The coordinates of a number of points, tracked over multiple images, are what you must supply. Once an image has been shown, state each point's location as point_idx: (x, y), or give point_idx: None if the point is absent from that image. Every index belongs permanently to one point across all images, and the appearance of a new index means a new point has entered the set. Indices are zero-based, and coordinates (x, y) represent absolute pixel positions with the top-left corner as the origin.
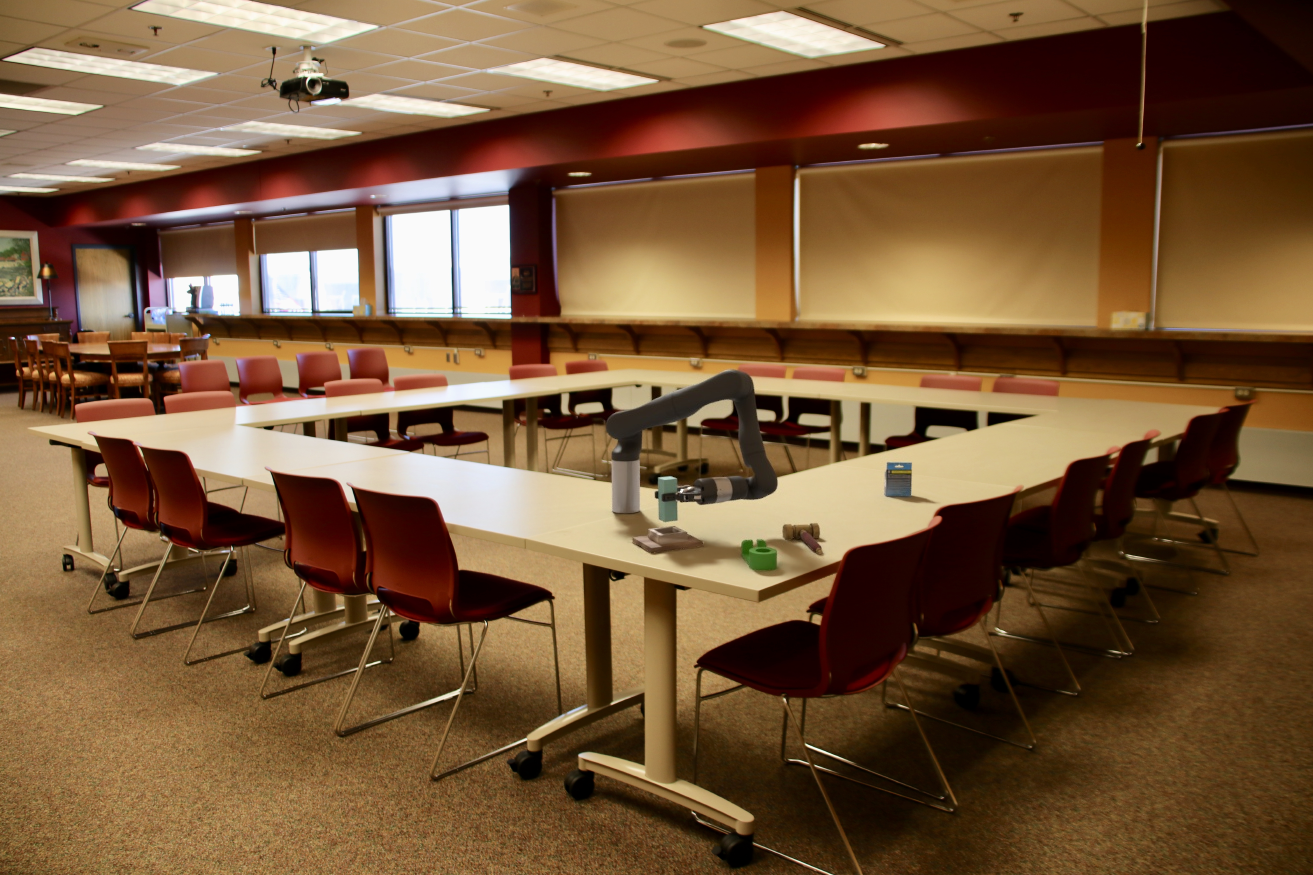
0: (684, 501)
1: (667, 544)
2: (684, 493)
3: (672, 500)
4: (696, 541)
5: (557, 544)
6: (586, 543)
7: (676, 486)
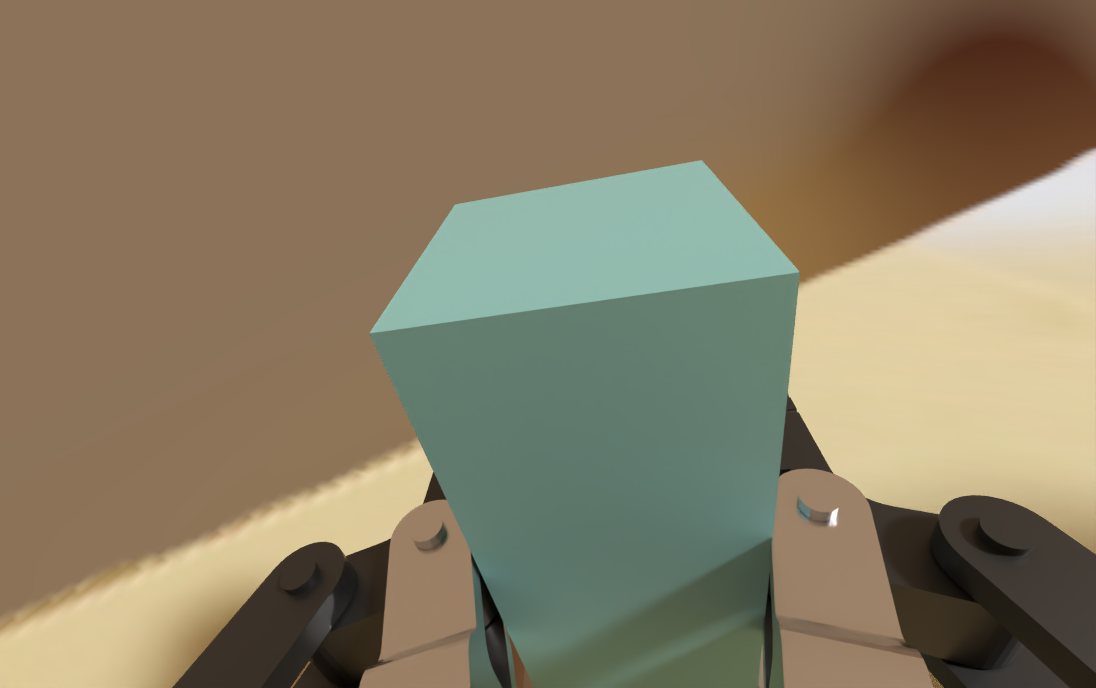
0: (309, 682)
1: (517, 661)
2: (248, 624)
3: None
4: None
5: None
6: (792, 362)
7: (440, 470)
